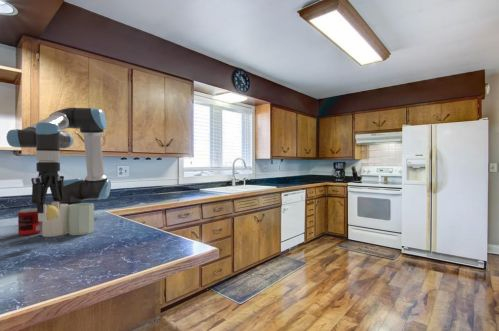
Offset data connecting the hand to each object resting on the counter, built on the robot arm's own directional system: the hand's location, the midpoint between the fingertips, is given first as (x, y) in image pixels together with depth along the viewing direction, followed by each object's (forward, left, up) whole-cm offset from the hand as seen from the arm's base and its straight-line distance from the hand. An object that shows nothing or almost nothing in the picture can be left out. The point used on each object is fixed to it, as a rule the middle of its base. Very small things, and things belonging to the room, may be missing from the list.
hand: (49, 219), depth 106 cm
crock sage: (-16, +2, -10) cm, 19 cm away
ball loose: (0, 0, +3) cm, 3 cm away
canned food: (-13, -21, -10) cm, 27 cm away
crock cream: (-13, -8, -10) cm, 19 cm away
